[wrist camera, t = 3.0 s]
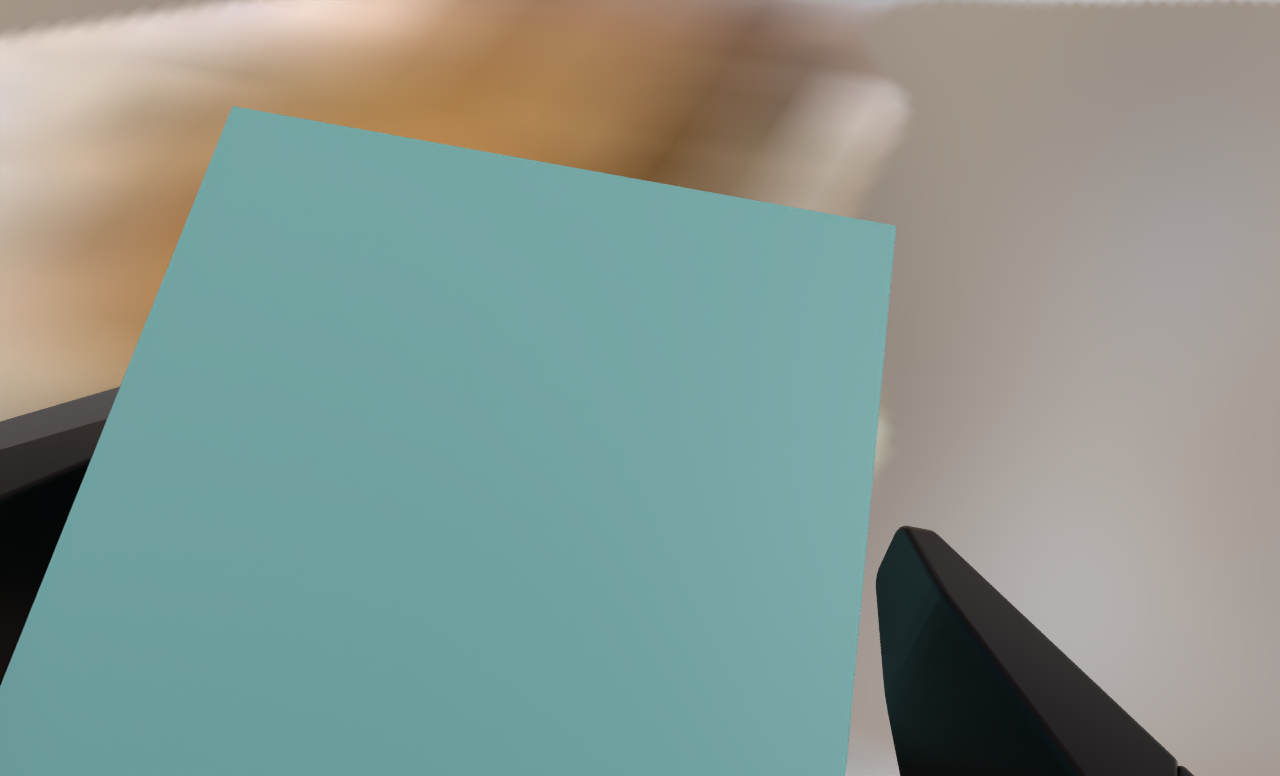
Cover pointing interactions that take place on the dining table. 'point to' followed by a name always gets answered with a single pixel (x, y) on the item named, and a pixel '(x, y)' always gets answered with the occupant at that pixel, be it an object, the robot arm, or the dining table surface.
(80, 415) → the dark grey pad
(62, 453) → the robot arm
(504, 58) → the dining table surface
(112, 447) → the teal block
